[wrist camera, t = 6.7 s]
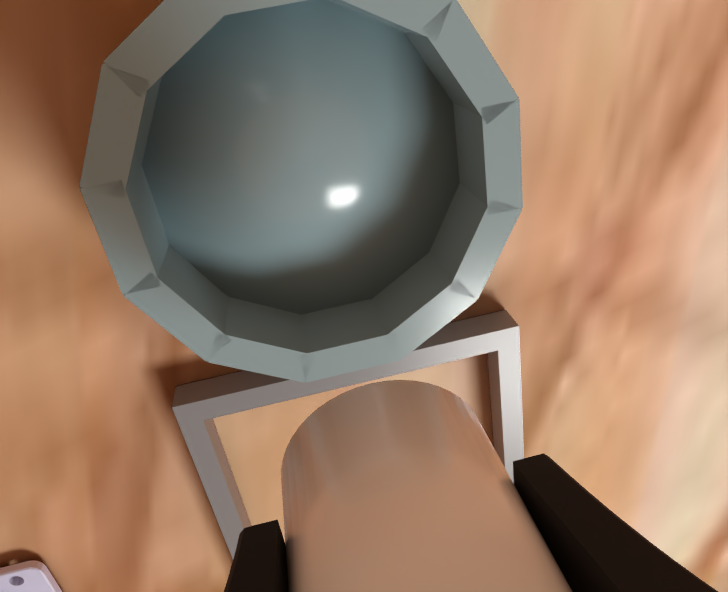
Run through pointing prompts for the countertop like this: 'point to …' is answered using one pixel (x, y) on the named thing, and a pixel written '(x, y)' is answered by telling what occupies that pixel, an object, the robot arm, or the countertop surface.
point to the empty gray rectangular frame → (257, 390)
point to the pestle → (406, 500)
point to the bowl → (303, 177)
